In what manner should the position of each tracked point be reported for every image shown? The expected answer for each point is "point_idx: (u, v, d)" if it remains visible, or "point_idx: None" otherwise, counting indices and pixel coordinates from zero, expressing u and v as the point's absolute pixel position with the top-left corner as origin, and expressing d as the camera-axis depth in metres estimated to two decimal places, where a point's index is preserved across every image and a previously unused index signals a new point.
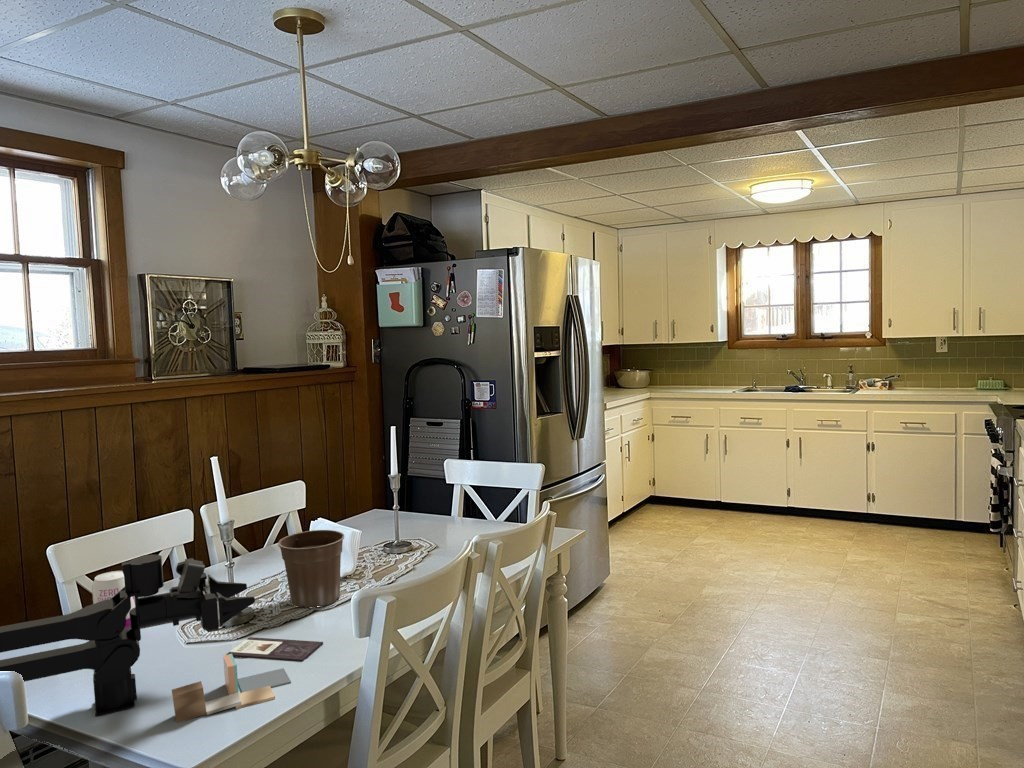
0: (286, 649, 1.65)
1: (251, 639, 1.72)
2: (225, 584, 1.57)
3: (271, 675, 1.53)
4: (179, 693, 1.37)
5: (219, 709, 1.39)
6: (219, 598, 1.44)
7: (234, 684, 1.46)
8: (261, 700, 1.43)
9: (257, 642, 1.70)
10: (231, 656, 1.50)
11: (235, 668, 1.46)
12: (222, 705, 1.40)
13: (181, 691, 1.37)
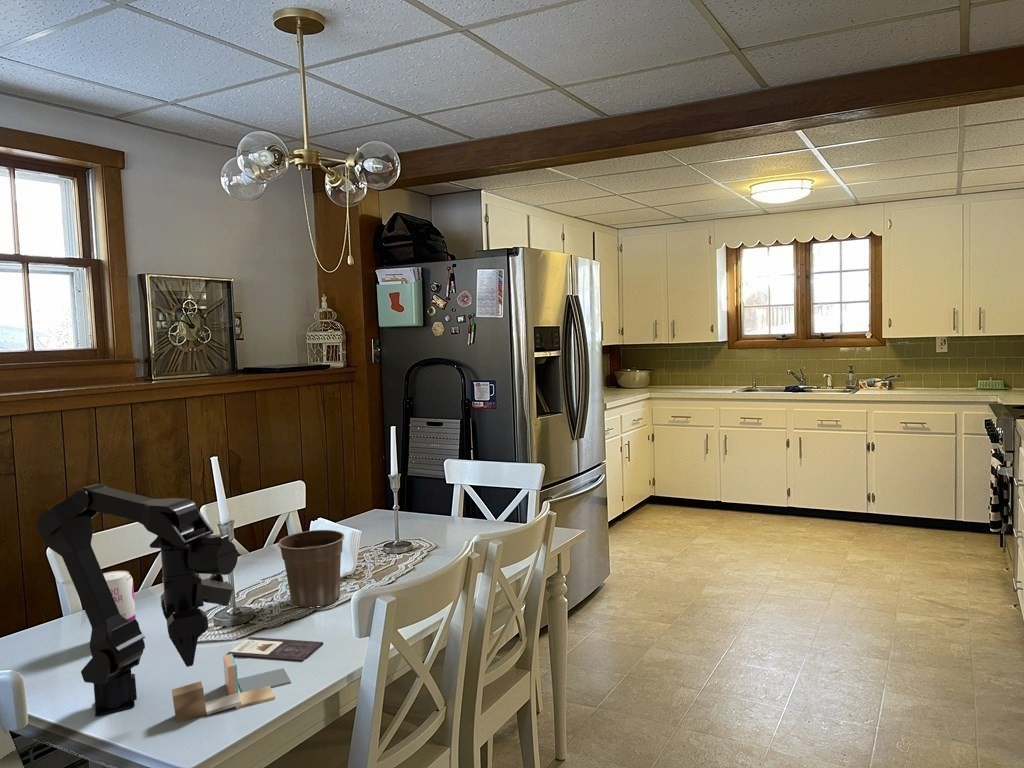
0: (286, 649, 1.65)
1: (251, 638, 1.72)
2: None
3: (271, 675, 1.53)
4: (179, 693, 1.37)
5: (219, 709, 1.39)
6: (204, 631, 1.32)
7: (234, 684, 1.46)
8: (261, 700, 1.43)
9: (257, 642, 1.70)
10: (231, 656, 1.50)
11: (235, 668, 1.46)
12: (222, 705, 1.40)
13: (181, 691, 1.37)
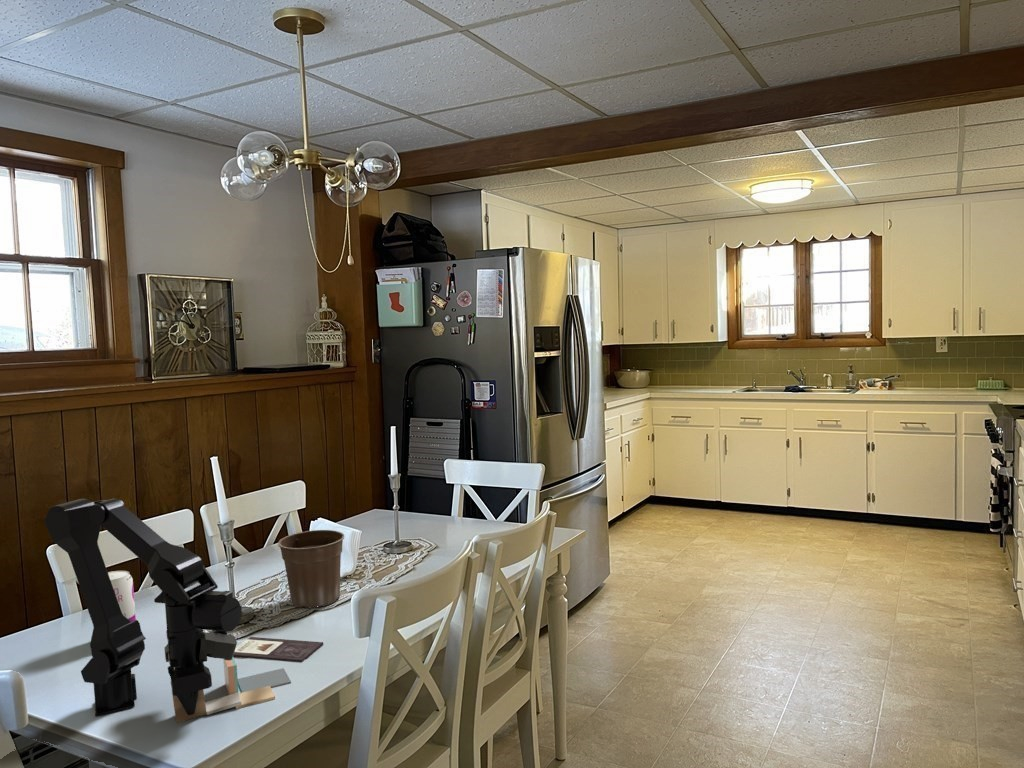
0: (286, 649, 1.65)
1: (252, 638, 1.72)
2: None
3: (271, 675, 1.53)
4: None
5: (219, 709, 1.39)
6: None
7: (234, 684, 1.46)
8: (261, 700, 1.43)
9: (258, 642, 1.70)
10: None
11: (235, 668, 1.46)
12: (222, 705, 1.40)
13: None
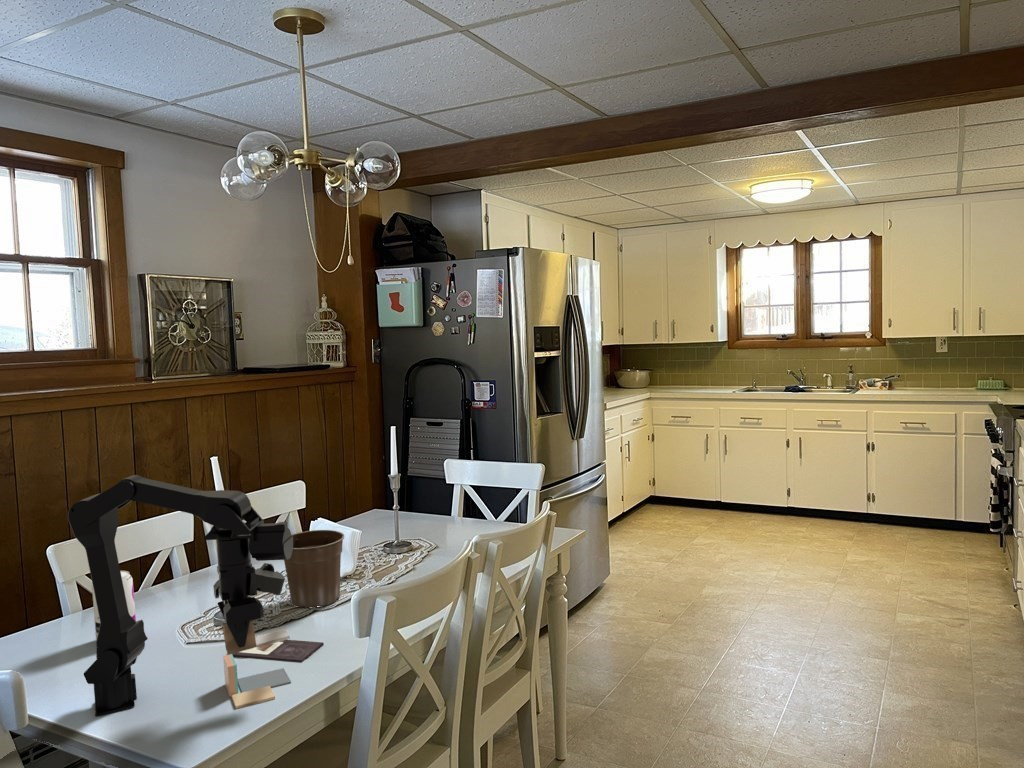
0: (286, 649, 1.65)
1: None
2: None
3: (271, 675, 1.53)
4: None
5: (268, 642, 1.43)
6: None
7: (234, 684, 1.46)
8: (261, 700, 1.43)
9: None
10: (231, 656, 1.50)
11: (235, 668, 1.46)
12: (271, 639, 1.44)
13: None
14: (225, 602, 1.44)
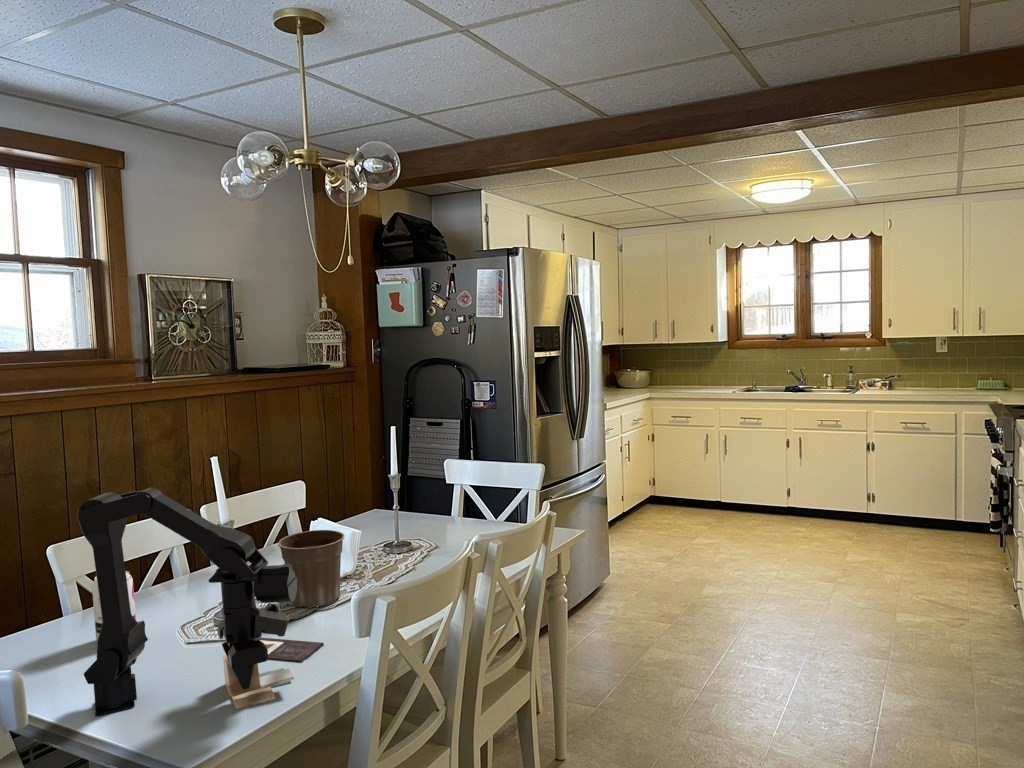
0: (286, 649, 1.65)
1: None
2: None
3: None
4: None
5: (273, 684, 1.44)
6: None
7: None
8: (261, 700, 1.43)
9: None
10: None
11: None
12: (275, 680, 1.45)
13: None
14: (229, 643, 1.44)
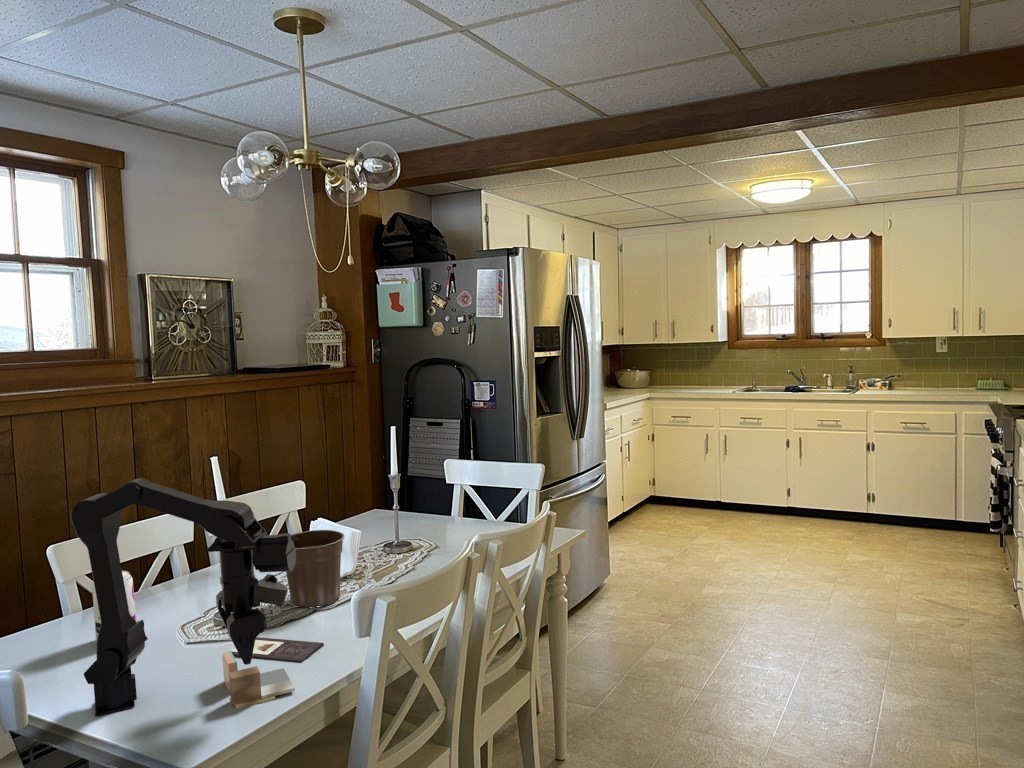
0: (286, 650, 1.65)
1: None
2: None
3: (271, 675, 1.53)
4: (237, 676, 1.42)
5: (273, 694, 1.44)
6: (263, 630, 1.37)
7: None
8: (261, 700, 1.43)
9: (259, 642, 1.70)
10: (230, 653, 1.51)
11: (235, 665, 1.47)
12: (276, 690, 1.45)
13: (239, 675, 1.42)
14: None
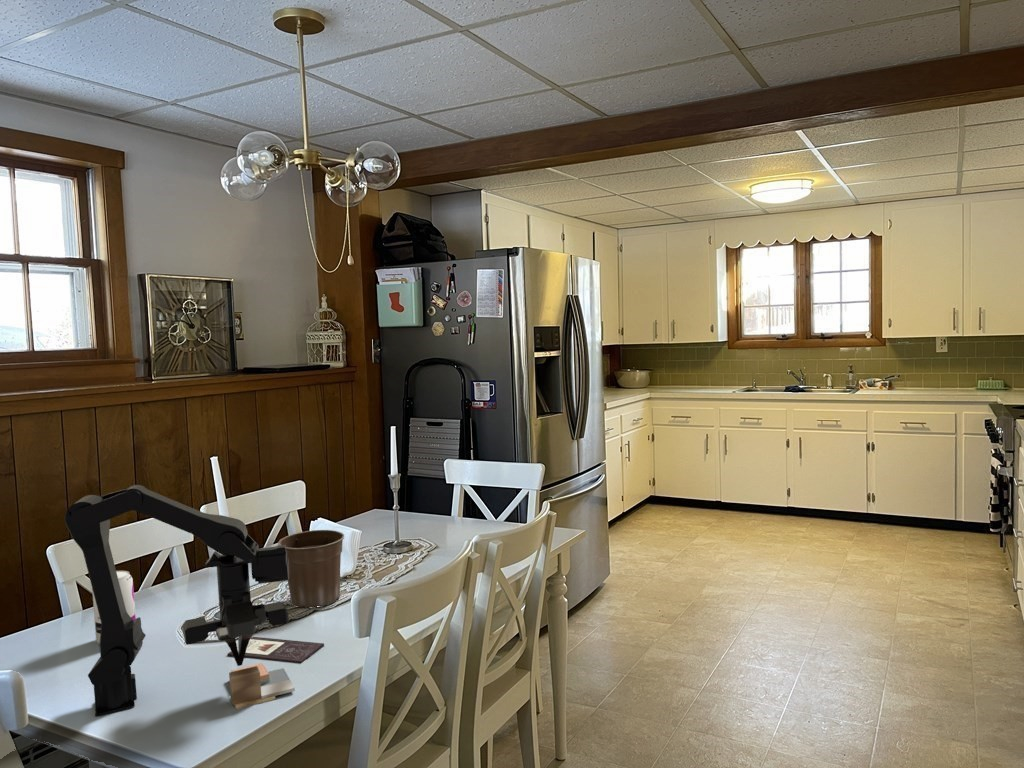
0: (287, 650, 1.65)
1: (254, 638, 1.72)
2: (241, 645, 1.48)
3: (271, 675, 1.53)
4: (237, 676, 1.42)
5: (273, 694, 1.44)
6: (219, 639, 1.44)
7: None
8: (261, 700, 1.43)
9: (260, 642, 1.70)
10: None
11: (266, 681, 1.50)
12: (276, 690, 1.45)
13: (239, 675, 1.42)
14: None
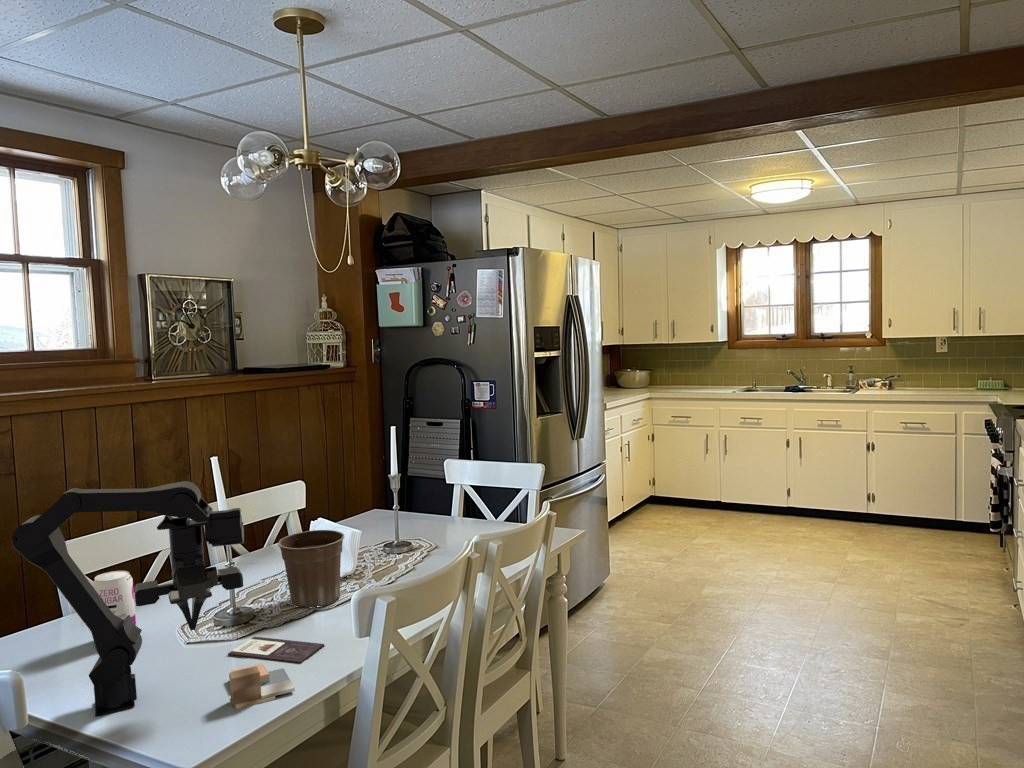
0: (287, 650, 1.65)
1: (255, 638, 1.72)
2: (194, 610, 1.46)
3: (271, 675, 1.53)
4: (237, 676, 1.42)
5: (273, 694, 1.44)
6: (171, 602, 1.43)
7: None
8: (261, 700, 1.43)
9: (260, 642, 1.70)
10: None
11: (266, 681, 1.50)
12: (276, 690, 1.45)
13: (239, 675, 1.42)
14: None
